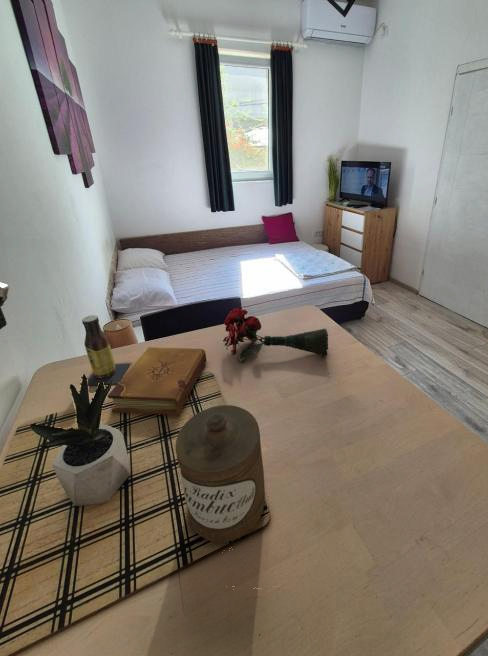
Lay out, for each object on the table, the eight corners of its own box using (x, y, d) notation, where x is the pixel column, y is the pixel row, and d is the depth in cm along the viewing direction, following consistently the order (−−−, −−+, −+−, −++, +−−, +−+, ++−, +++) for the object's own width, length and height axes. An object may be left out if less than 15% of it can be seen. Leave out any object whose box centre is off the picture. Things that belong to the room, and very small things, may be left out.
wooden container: (177, 541, 58) (156, 452, 49) (202, 466, 71) (189, 386, 63) (259, 546, 57) (252, 456, 48) (269, 469, 70) (265, 389, 62)
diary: (180, 415, 85) (177, 398, 83) (112, 412, 87) (107, 395, 84) (206, 363, 106) (204, 348, 104) (151, 361, 108) (148, 346, 105)
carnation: (323, 369, 115) (223, 366, 114) (321, 320, 123) (228, 317, 122) (330, 358, 101) (217, 355, 100) (327, 303, 109) (223, 300, 108)
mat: (83, 386, 97) (83, 385, 96) (98, 365, 106) (98, 365, 106) (118, 384, 97) (117, 383, 97) (130, 364, 106) (130, 363, 106)
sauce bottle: (95, 370, 103) (78, 314, 95) (116, 365, 105) (102, 310, 98) (93, 382, 98) (75, 324, 90) (116, 376, 100) (101, 320, 92)
